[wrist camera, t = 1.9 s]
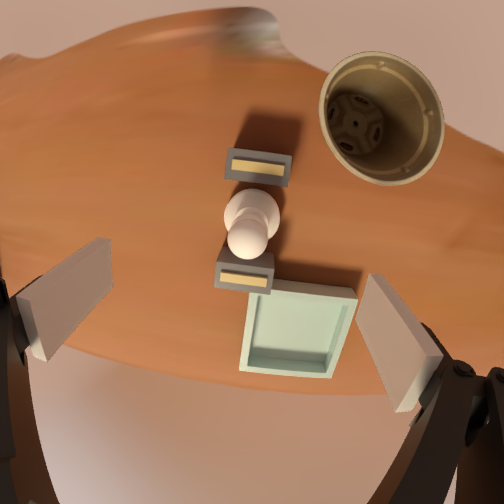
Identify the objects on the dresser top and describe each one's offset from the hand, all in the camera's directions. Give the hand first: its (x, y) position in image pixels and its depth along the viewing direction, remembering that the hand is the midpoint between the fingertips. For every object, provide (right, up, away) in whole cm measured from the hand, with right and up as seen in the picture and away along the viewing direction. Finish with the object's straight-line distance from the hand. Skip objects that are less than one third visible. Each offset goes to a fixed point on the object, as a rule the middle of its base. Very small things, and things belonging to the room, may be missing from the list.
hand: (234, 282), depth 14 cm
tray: (+5, -7, +18) cm, 20 cm away
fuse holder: (+1, +5, +14) cm, 15 cm away
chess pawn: (+1, +5, +14) cm, 15 cm away
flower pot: (+10, +13, +11) cm, 20 cm away
